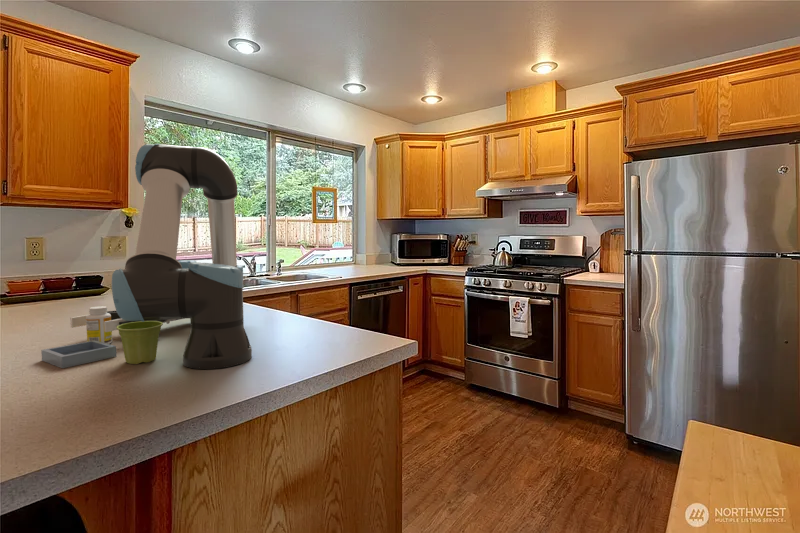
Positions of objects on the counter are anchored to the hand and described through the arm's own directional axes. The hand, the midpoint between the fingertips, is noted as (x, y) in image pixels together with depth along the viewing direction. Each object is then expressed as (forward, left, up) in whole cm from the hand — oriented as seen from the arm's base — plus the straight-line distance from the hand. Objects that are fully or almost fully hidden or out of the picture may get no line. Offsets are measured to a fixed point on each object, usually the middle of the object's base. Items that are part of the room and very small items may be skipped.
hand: (87, 324), depth 110 cm
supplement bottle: (0, -3, -6) cm, 7 cm away
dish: (-11, +6, -6) cm, 14 cm away
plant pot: (-25, -1, -6) cm, 25 cm away
